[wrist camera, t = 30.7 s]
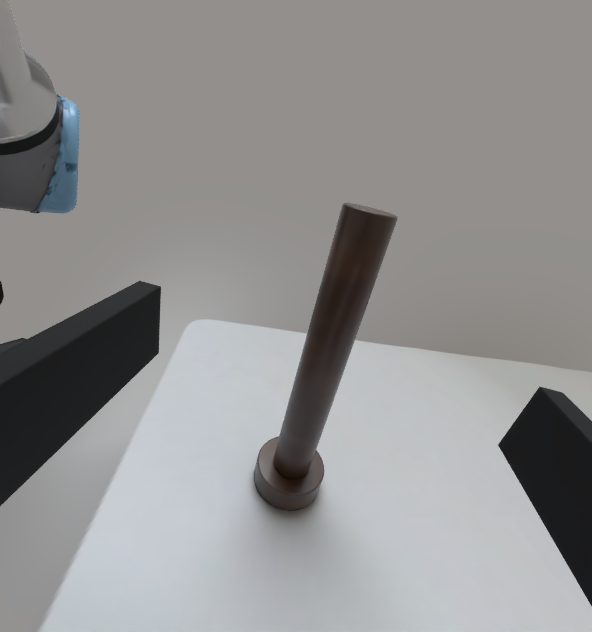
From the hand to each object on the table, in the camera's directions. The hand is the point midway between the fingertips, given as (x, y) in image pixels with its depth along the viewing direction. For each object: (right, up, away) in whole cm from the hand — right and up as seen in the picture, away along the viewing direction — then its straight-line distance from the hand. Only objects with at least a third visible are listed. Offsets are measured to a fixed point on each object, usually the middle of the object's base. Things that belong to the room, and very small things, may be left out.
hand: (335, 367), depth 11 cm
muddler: (-2, -9, +10) cm, 14 cm away
